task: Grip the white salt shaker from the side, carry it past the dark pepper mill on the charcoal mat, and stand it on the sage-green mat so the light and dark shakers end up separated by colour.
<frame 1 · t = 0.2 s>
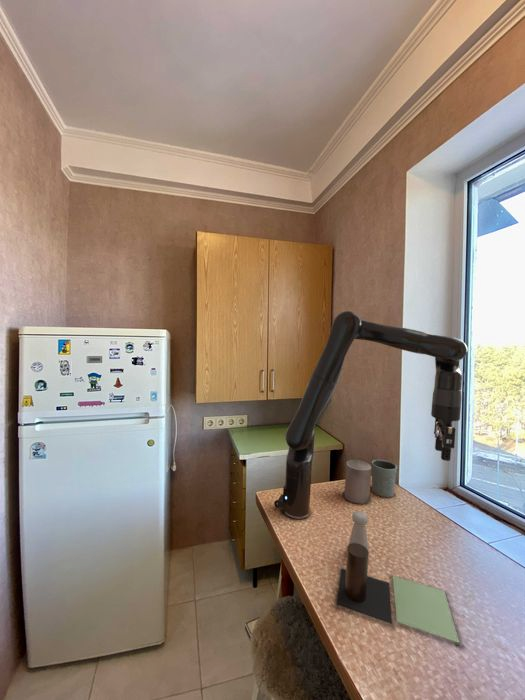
hand: (442, 455, 91), 29 cm above the table, tool pointing down, fingers open, 8 cm apart
dark mat: (363, 595, 73), on the table
pillar candle: (356, 498, 119), on the table
sage mat: (421, 607, 70), on the table
grey-green plant pot: (382, 492, 125), on the table
salt shaker: (357, 558, 85), on the table
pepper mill: (355, 593, 72), point 1 cm above the table, touching dark mat
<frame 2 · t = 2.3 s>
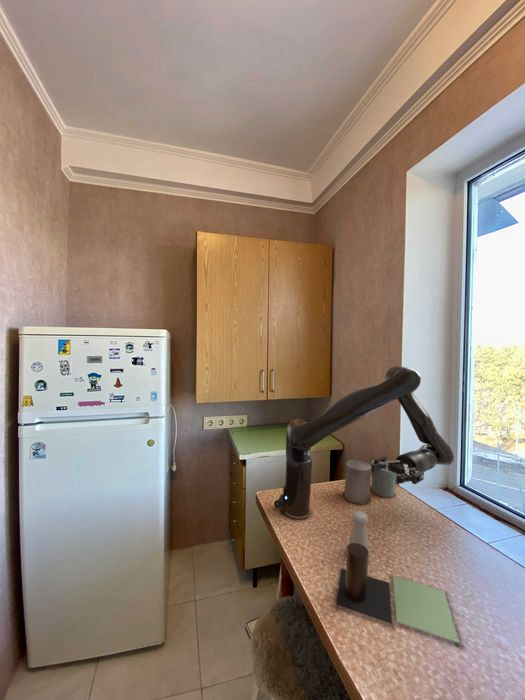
hand: (384, 474, 91), 22 cm above the table, tool horizontal, fingers open, 8 cm apart
nothing on the table moved.
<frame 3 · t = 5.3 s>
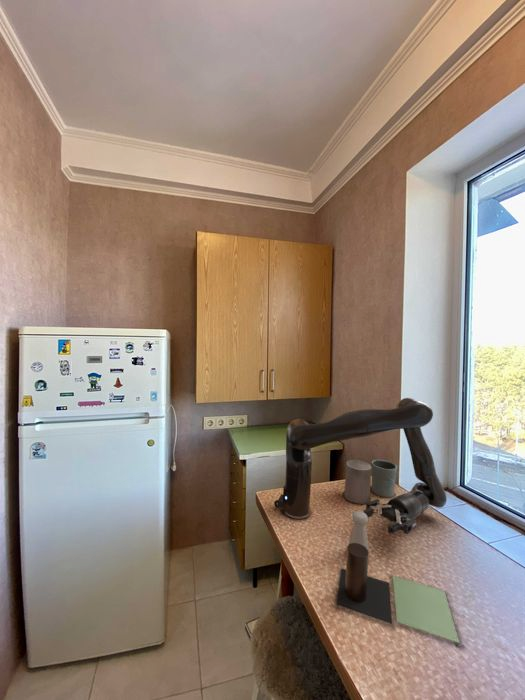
hand: (376, 522, 90), 8 cm above the table, tool horizontal, fingers open, 8 cm apart
nothing on the table moved.
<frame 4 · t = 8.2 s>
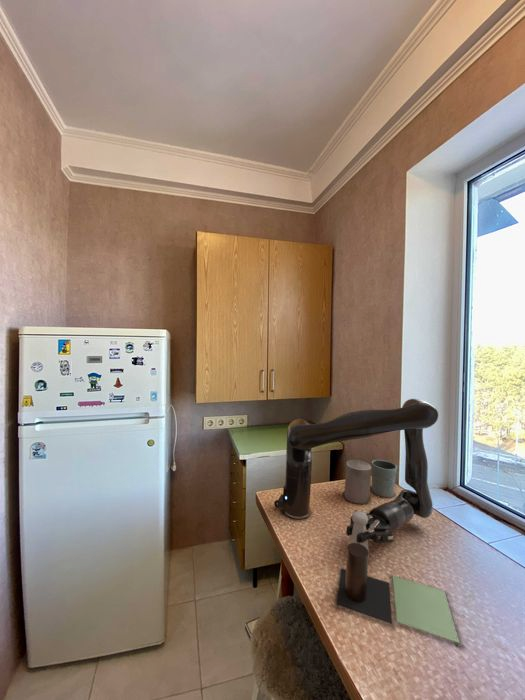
hand: (352, 535, 84), 8 cm above the table, tool horizontal, fingers closed on salt shaker, 3 cm apart
salt shaker: (357, 558, 85), on the table, touching gripper
everything else where it was.
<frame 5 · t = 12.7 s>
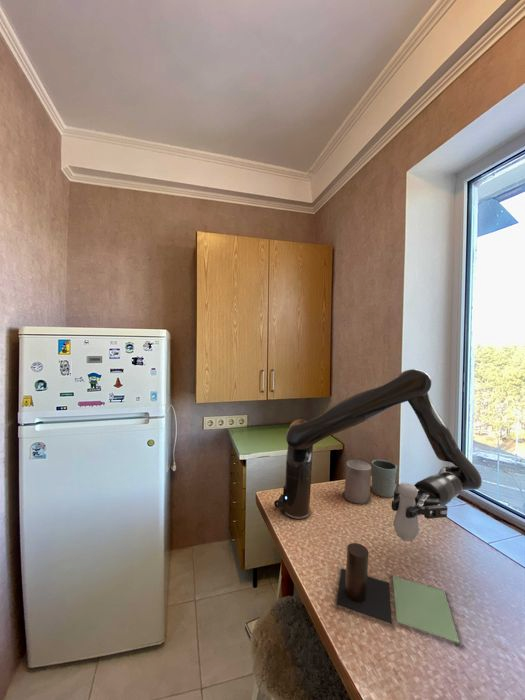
hand: (400, 510, 72), 22 cm above the table, tool horizontal, fingers closed on salt shaker, 3 cm apart
salt shaker: (405, 536, 74), point 14 cm above the table, touching gripper
everything else where it was.
when the fingers open (8 cm above the table, at t = 17.4 s): salt shaker stays where it is, resting on sage mat.
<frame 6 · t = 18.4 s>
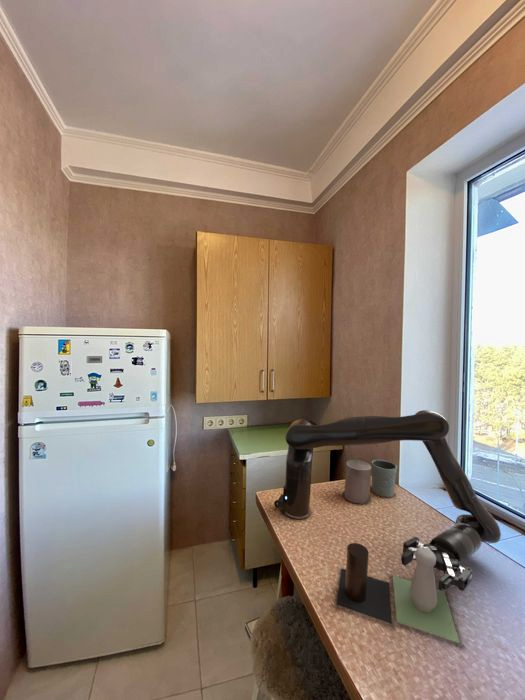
hand: (420, 573, 69), 9 cm above the table, tool horizontal, fingers open, 8 cm apart
salt shaker: (422, 605, 70), resting on sage mat
everything else where it was.
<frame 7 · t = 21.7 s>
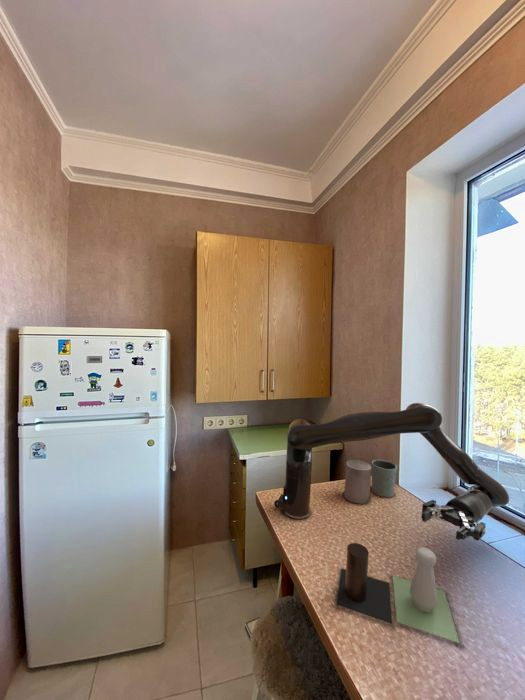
hand: (439, 526, 78), 15 cm above the table, tool horizontal, fingers open, 8 cm apart
nothing on the table moved.
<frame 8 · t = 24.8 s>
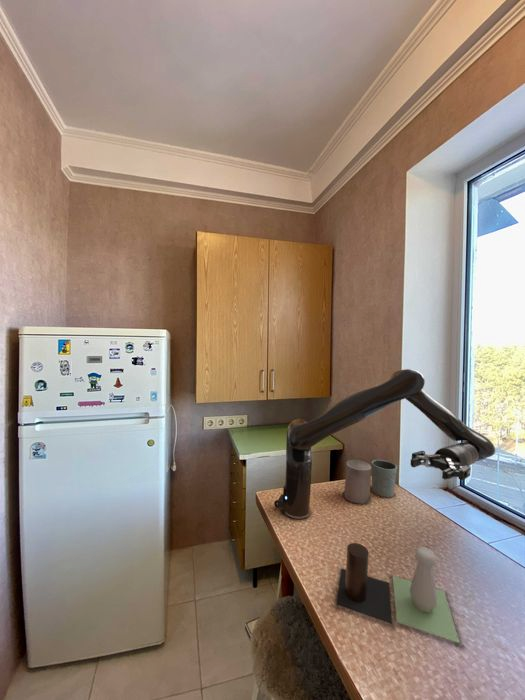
hand: (427, 469, 82), 28 cm above the table, tool horizontal, fingers open, 8 cm apart
nothing on the table moved.
at the end: salt shaker inside the target area (0.2 cm from its centre), resting on sage mat; salt shaker tilted 0°; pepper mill moved 0.0 cm from its start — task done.
